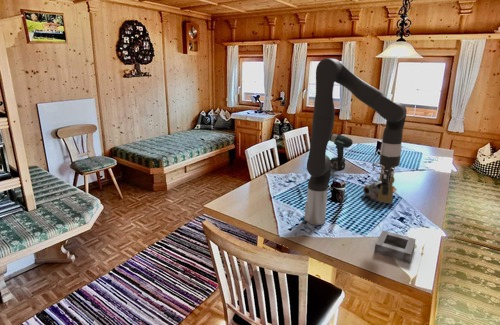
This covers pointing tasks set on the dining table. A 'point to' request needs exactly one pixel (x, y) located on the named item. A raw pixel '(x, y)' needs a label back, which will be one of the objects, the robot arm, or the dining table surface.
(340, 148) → the power drill
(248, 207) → the dining table surface
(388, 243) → the square holder
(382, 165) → the mug
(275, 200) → the dining table surface
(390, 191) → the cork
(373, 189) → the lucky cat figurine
